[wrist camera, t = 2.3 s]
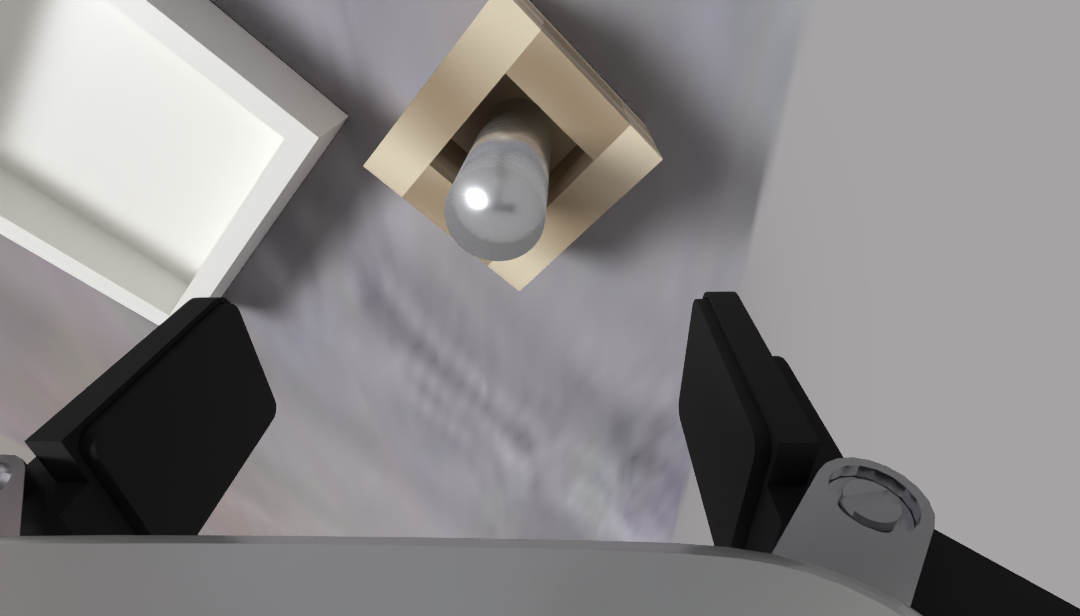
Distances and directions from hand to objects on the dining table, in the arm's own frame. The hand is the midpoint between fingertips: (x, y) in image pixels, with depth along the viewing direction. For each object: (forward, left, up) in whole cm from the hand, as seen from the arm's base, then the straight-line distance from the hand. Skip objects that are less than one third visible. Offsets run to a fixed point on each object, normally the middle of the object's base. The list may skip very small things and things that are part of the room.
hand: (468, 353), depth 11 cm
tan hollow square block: (0, 0, -16) cm, 16 cm away
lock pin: (0, 0, -15) cm, 15 cm away
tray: (+12, -13, -16) cm, 24 cm away
